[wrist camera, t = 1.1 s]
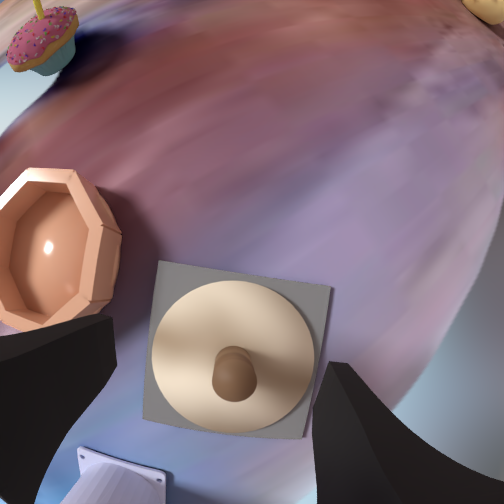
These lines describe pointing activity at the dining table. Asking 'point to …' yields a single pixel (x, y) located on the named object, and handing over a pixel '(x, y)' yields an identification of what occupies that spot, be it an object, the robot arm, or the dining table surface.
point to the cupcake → (44, 41)
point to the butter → (486, 10)
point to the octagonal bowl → (55, 249)
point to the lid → (232, 356)
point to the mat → (191, 277)
